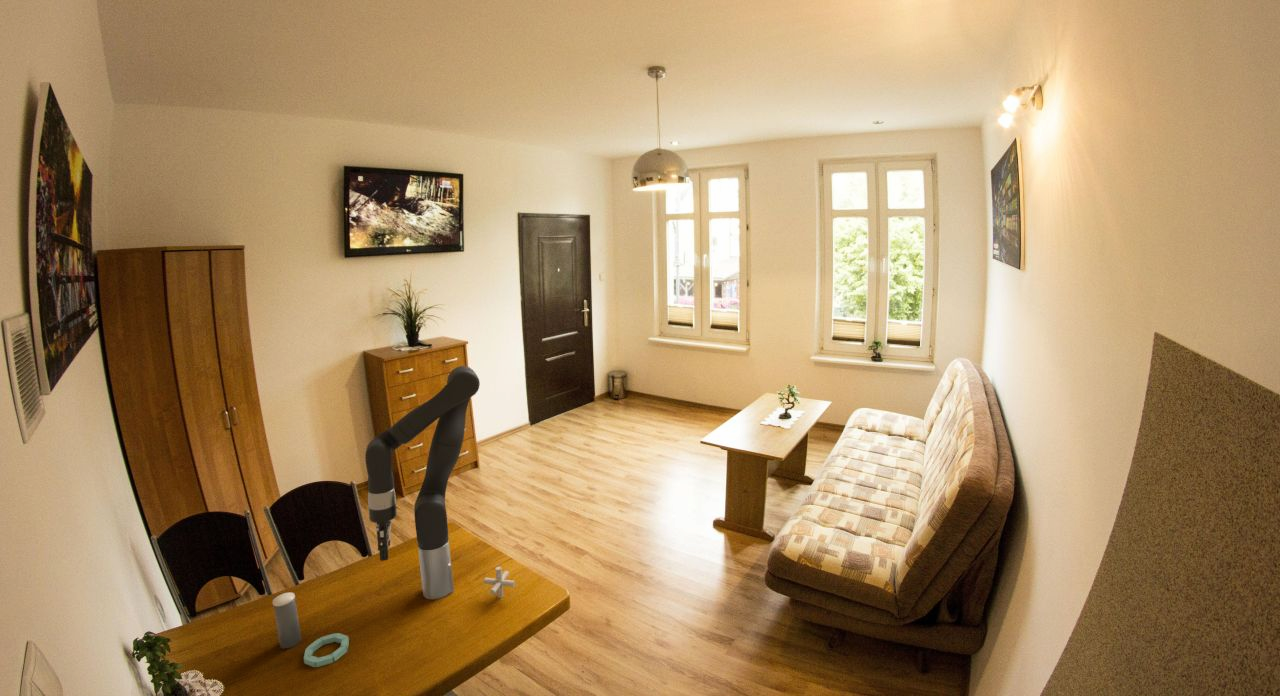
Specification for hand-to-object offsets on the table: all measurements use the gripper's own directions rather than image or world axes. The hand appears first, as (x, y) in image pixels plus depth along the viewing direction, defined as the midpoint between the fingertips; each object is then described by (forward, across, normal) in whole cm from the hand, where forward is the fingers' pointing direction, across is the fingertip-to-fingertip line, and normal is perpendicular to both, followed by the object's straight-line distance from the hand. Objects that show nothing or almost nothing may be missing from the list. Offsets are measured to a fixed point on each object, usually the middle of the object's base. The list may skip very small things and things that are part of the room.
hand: (385, 552), depth 162 cm
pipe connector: (+17, -10, -33) cm, 38 cm away
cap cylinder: (+19, -6, +25) cm, 32 cm away
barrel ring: (+19, -15, +15) cm, 28 cm away
